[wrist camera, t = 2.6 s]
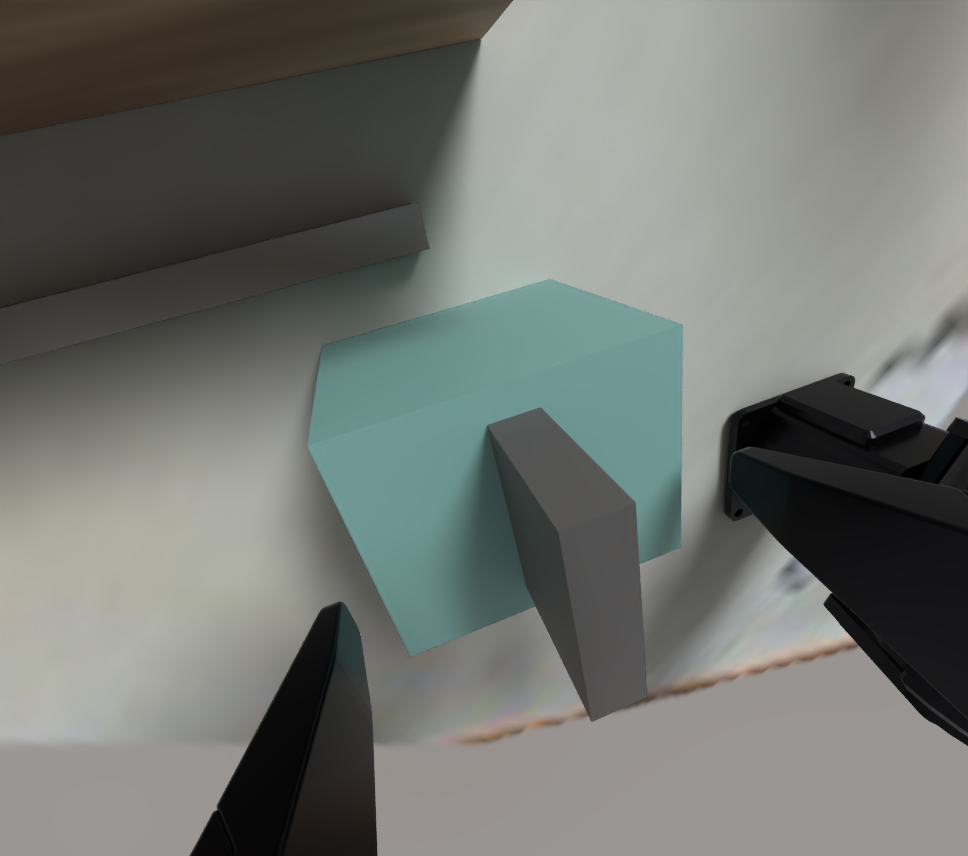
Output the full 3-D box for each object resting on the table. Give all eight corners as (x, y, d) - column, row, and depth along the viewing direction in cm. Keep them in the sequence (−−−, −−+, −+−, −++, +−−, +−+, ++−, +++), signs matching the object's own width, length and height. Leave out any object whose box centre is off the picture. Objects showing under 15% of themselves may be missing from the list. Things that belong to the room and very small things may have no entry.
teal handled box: (571, 437, 19) (786, 653, 10) (387, 502, 17) (435, 817, 8) (549, 278, 15) (843, 379, 6) (322, 345, 14) (286, 583, 5)
